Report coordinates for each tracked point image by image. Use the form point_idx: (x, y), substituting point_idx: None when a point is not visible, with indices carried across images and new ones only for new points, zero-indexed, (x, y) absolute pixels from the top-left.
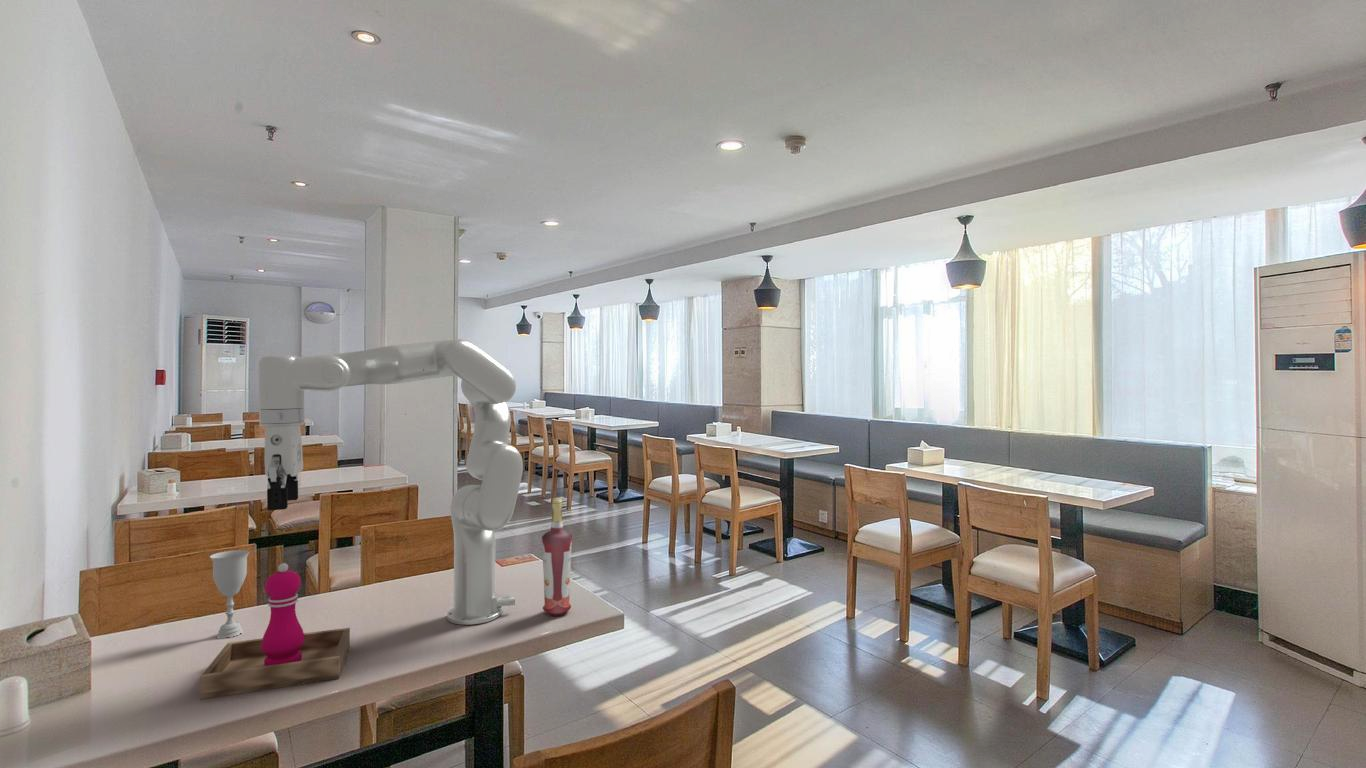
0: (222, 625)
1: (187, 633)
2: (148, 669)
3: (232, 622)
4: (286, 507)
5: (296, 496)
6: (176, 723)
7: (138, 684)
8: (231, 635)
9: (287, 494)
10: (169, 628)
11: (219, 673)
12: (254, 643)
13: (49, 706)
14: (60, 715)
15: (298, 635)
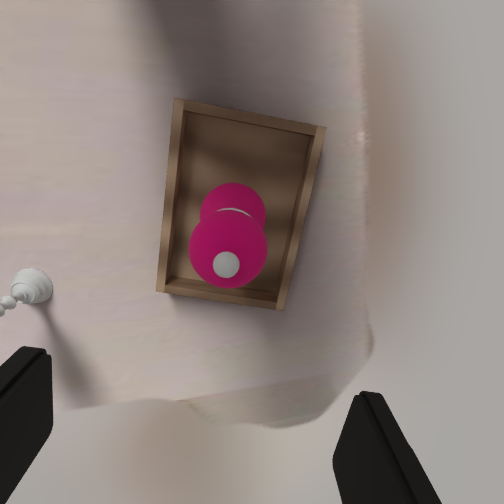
0: (26, 302)
1: (7, 338)
2: (141, 360)
3: (23, 291)
4: (383, 397)
5: (36, 366)
6: (335, 310)
7: (189, 362)
8: (48, 283)
9: (27, 429)
10: None
11: (285, 290)
12: (168, 254)
13: (209, 422)
14: (241, 409)
15: (252, 195)
